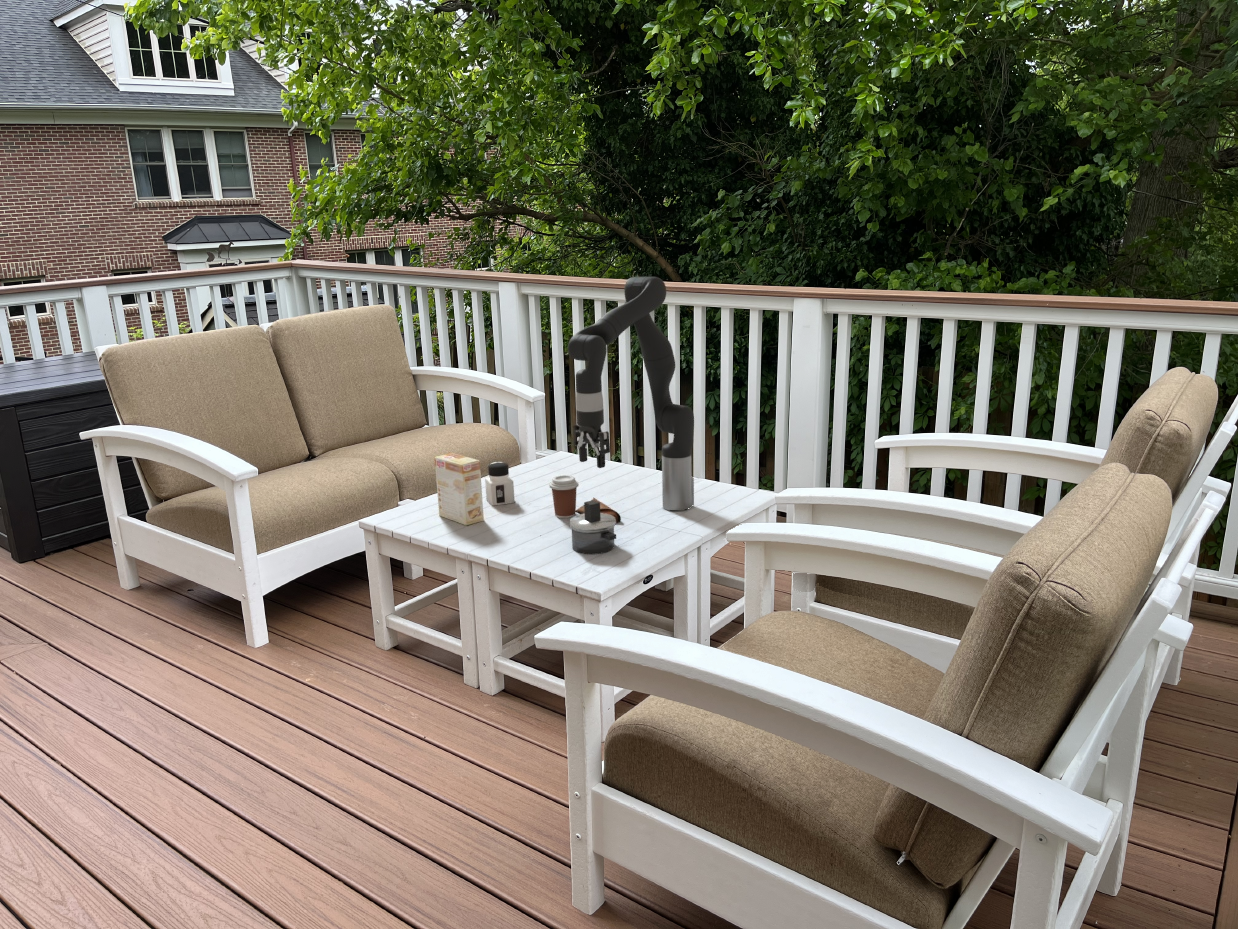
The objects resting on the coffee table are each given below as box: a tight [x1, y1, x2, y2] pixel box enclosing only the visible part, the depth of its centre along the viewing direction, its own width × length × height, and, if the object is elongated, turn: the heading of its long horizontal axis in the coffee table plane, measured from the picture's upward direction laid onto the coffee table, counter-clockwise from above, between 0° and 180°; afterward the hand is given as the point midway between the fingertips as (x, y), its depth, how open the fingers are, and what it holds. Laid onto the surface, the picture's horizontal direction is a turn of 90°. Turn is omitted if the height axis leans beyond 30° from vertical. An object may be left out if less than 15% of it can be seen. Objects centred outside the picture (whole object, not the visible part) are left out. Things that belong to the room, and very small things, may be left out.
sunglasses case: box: [576, 497, 622, 523], centre depth 296 cm, size 18×7×7 cm
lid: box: [569, 499, 616, 531], centre depth 267 cm, size 13×13×6 cm
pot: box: [569, 524, 617, 555], centre depth 269 cm, size 13×19×7 cm, turn 36°
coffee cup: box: [548, 474, 579, 519], centre depth 296 cm, size 9×9×12 cm
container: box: [484, 461, 516, 507], centre depth 311 cm, size 8×8×13 cm
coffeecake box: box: [434, 452, 485, 526], centre depth 295 cm, size 15×7×20 cm, turn 44°
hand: (592, 464), depth 264 cm, fingers open, 8 cm apart
